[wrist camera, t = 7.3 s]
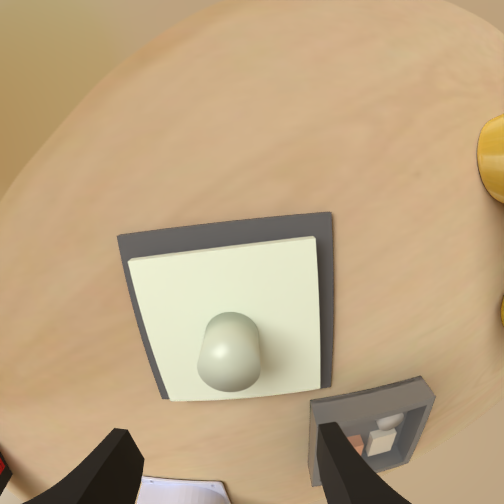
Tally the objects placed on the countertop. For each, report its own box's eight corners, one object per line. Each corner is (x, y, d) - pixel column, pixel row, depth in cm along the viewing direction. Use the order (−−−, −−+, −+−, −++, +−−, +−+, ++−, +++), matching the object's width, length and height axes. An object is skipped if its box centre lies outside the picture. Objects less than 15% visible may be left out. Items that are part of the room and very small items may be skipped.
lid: (174, 389, 20) (160, 434, 16) (136, 254, 18) (102, 282, 13) (316, 376, 20) (330, 422, 16) (310, 232, 17) (331, 255, 13)
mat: (163, 395, 21) (162, 399, 21) (119, 234, 18) (116, 236, 17) (329, 383, 21) (330, 386, 20) (329, 211, 17) (331, 212, 17)
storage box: (307, 464, 24) (312, 486, 21) (310, 400, 21) (316, 426, 18) (399, 443, 24) (408, 462, 21) (420, 375, 21) (435, 396, 18)
